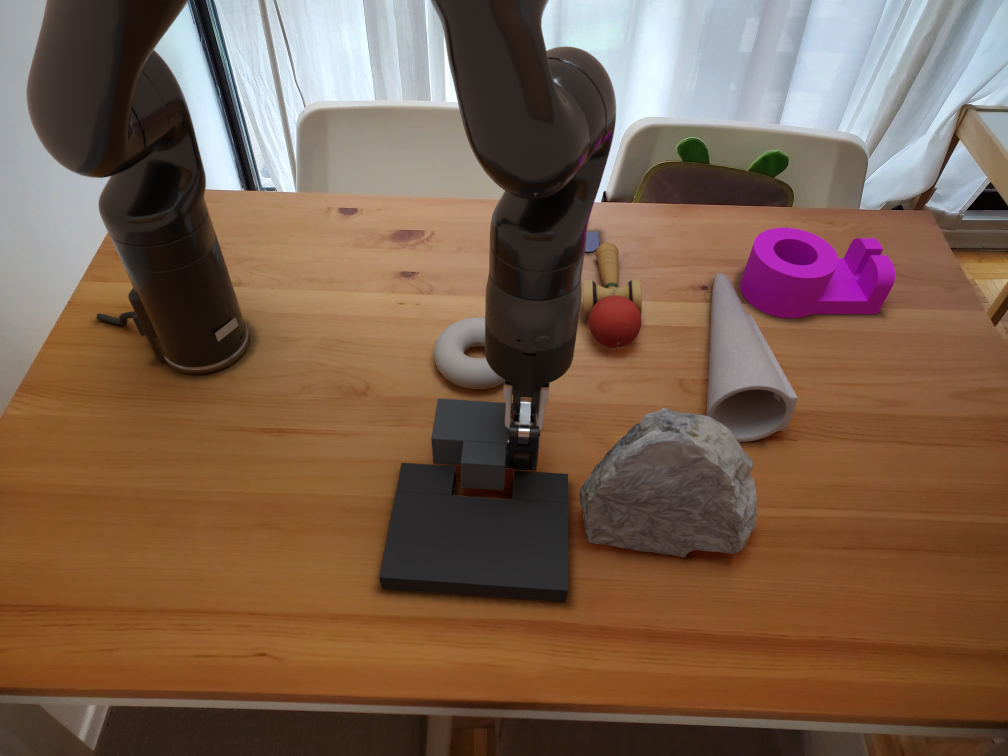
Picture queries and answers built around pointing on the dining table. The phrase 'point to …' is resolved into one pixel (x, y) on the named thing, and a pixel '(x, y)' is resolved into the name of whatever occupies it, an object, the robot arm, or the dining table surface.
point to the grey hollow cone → (744, 371)
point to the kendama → (612, 302)
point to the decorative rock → (672, 488)
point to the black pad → (478, 537)
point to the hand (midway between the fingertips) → (521, 444)
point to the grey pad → (473, 441)
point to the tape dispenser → (815, 275)
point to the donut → (459, 364)
